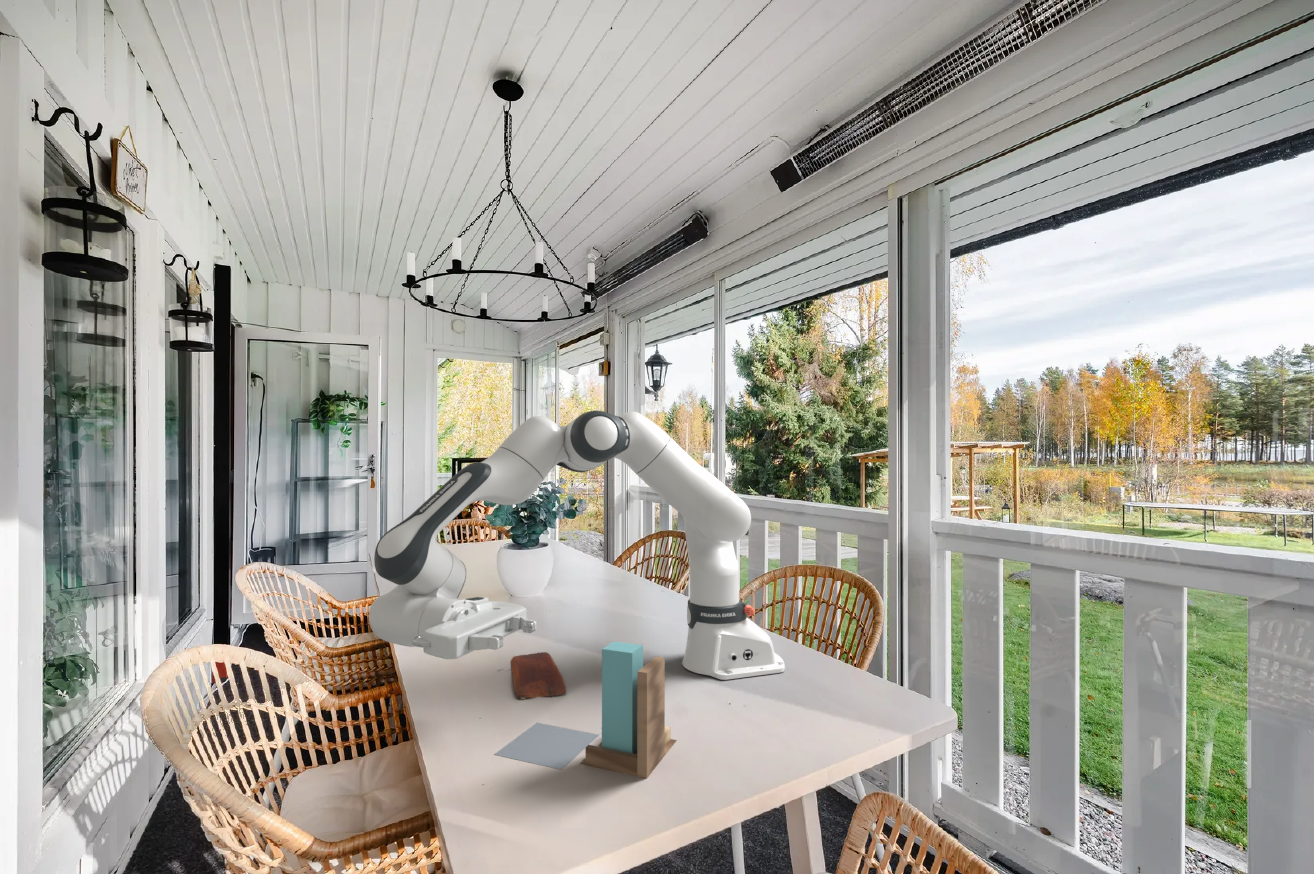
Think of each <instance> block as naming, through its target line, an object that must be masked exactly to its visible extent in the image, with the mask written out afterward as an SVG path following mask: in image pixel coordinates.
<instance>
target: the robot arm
mask: <svg viewBox="0 0 1314 874" xmlns="http://www.w3.org/2000/svg"><path fill="white" fill-rule="evenodd" d="M613 458H614V459H617V460H619V461H621V462H622V463H623V464H626V465H627V467H629V468H630V470H631V471H632V472H633V473H635V475H637V476H638V477H639V478H640V479H641V480H642V481H643V482H644V483H645V484H646V485H647V486H648V487H649V488H650V489H651V490H652V491H654V492H655V494H657V496H659V497H660V498H661V499H662V500H663V501H665V502H666V503H667V504H668V505H669V506H671V507H672V508H673V509H674V510H676V511H677V513H679V514H680V515H681V516H682V518H683V523H684V524H683V525H684V534H685V542H686V549H687V554H688V565H689V568H688V570H689V598H688V600H687V606H686V623H687V626H688V628H687V629H688V632H687V638H686V639H687V641H686V646H685V650H684V655H683V658H682V662H681V665H682V667H684V668H685V669H686V670H688V671H689V672H692V673H696V674H700V675H705V676H710V677H713V678H715V679H718V680H722V681H725V680H733V679H740V678H742V679H743V678H748V677H756V676H763V675H771V674H772V675H773V674H779V673H783V672H784V671H786V665H785V661H784V660H783V658H782V657H781V656H780V655H779V654H778V653H776V652H775V648H774V644H773V641H772V639H771V637H770V635H769V634H768V633H767V632H766V631H765V630H763V628H761V627H760V626H759V625H758V624H756V623H755V622H754V621H752V619H750V618H748V616H749V617H751V616H753V615H754V614H755V608H753V606H751V605H750V604H747V603H746V602H744V601H743V600H740V565H739V561H738V560H737V559H738V558H737V556H736V551H735V546H734V543H733V542H736V541H739V540H741V539H742V538H743V537H744V536H745V535H746V534H747V533H748V531H749V530H750V528H751V524H752V514H751V511H750V510H751V509H750V508H749V506H748V505H747V504H746V502H744V500H743V499H742V498H740V497H739V496H738V495H737V494H736V493H734V491H732V490H731V489H730V488H729V487H728V486H727V485H725V484H724V482H722V481H721V480H720V479H718V478H717V477H716V476H714V474H712V473H711V472H710V471H708V470H707V469H706V468H705V467H703V466H702V464H701V465H700V464H699V462H698V461H696V460H695V459H693V457H692V456H691V455H689V454H688V452H686V451H685V450H684V449H683V447H681V446H680V445H679V444H678V443H677V442H676V441H675V440H674V439H673V438H672V436H670V435H669V434H668V433H666V431H664V429H662V428H661V427H660V426H659V425H657V424H656V423H655V422H653V421H652V420H651V419H649V418H647V416H644V414H641V413H640V412H637V411H627V412H625V413H622V414H621V415H620V416H618V415H615V414H611V413H609V412H607V411H603V410H597V409H596V410H590V411H587V412H583V413H581V414H580V415H578V416H577V417H576V418H574V419H573V420H571V421H570V422H569V423H568V424H567V425H563V426H562V425H559V424H557V423H556V422H555V421H553V420H552V419H550V418H548V417H546V416H541V415H534V416H531V417H529V418H528V419H526V420H525V421H524V422H523V423H522V424H520V425H519V426H518V427H517V428H516V429H514V430H513V431H512V432H511V433H510V434H509V435H508V436H507V438H506V439H505V440H504V441H503V442H502V443H501V444H500V445H499V447H498V448H497V449H496V450H495V451H494V452H493V453H492V454H491V455H490V456H489V457H487V458H485V459H484V460H483V461H479V462H478V461H475V462H472V463H470V464H468V465H466V466H464V467H463V468H461V469H460V470H459V471H458V472H457V473H455V474H454V475H453V476H451V478H450V479H448V480H447V481H446V482H445V483H444V484H443V485H442V486H441V487H440V488H438V489H437V491H436V492H434V493H433V494H432V495H431V496H430V497H428V499H427V500H426V501H424V502H423V503H422V504H421V505H419V507H418V508H417V509H416V510H414V512H412V513H411V514H410V515H409V516H407V518H405V519H403V520H402V521H401V522H399V523H398V524H396V525H394V526H393V527H392V528H390V529H389V530H387V531H386V533H384V535H382V536H381V537H380V539H379V540H378V542H377V544H376V547H375V550H374V558H373V559H374V561H373V562H374V563H373V564H374V569H375V571H376V573H377V574H378V576H380V577H381V578H383V579H385V580H387V581H389V582H390V583H393V584H395V585H397V586H395V587H394V588H393V589H392V590H390V591H389V592H387V593H383V595H382V594H381V595H380V596H378V597H377V598H376V599H375V600H373V602H372V603H371V605H370V608H369V610H368V611H369V612H368V622H369V627H370V628H371V630H372V633H374V635H375V636H376V637H377V638H379V639H380V640H381V641H382V640H383V641H384V642H386V643H387V642H388V643H390V644H395V645H399V646H404V647H409V648H415V647H416V648H423V653H424V654H427V655H429V656H431V657H435V658H440V659H444V660H456V659H460V658H461V657H463V656H466V655H468V654H470V653H472V652H474V651H482V650H483V651H484V650H494V651H496V650H498V649H500V648H502V647H504V638H505V637H506V636H509V635H511V634H513V633H516V632H518V631H520V630H522V632H523V633H528V634H531V633H533V632H536V631H537V629H538V628H537V624H538V623H537V621H536V620H533V619H528V616H527V614H528V612H527V608H526V607H524V606H523V605H521V604H516V603H511V602H505V601H496V600H492V601H491V600H489V597H487V596H476V597H469V598H459V596H460V595H461V593H462V591H463V588H464V586H465V583H466V579H467V569H466V565H465V563H464V562H463V561H462V560H461V559H460V558H459V557H458V556H456V555H455V554H454V553H453V552H451V551H450V550H449V549H448V548H446V547H444V546H443V545H442V544H441V543H439V542H438V541H437V539H436V538H437V536H438V534H439V533H440V532H442V530H443V529H445V528H446V527H447V526H448V525H449V524H450V523H451V522H452V521H453V520H454V519H455V518H456V517H457V516H458V515H459V514H460V513H461V512H462V511H463V510H464V509H465V508H466V507H468V506H469V505H471V504H472V503H475V502H479V501H483V502H484V501H486V502H490V503H494V504H498V505H501V506H502V505H503V506H514V505H519V504H522V503H524V502H525V501H527V500H528V499H529V498H530V497H532V496H533V494H534V493H535V492H536V491H537V489H538V488H539V487H540V485H541V484H542V483H543V481H544V480H545V479H546V477H547V476H548V475H549V474H550V472H551V471H552V470H553V469H554V468H555V467H556V466H558V467H561V468H564V469H566V470H568V471H571V472H575V473H586V472H589V471H592V470H595V469H597V468H599V467H601V466H602V465H604V464H605V463H607V462H608V461H609V460H611V459H613Z"/></svg>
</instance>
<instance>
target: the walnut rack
mask: <svg viewBox="0 0 1314 874" xmlns="http://www.w3.org/2000/svg"><path fill="white" fill-rule="evenodd" d="M665 660H666V658H665V657H661V656H654V657H653V658H652V659H651V660H649V661H648V662H647V663H645V665H643V667H642V668H641V669H640V670H639V671H638V677H637V754H632V753H627V752H622V751H617V750H612V749H608V748H603V747H602V741H601V742H600V743H598V745H593V744H589V745H588V746H587V747H586V748H585V758H583V759H582V760H581V761H580V762H579V765H583V766H588V767H592V768H596V769H601V770H606V771H610V772H611V771H612V772H616V773H619V774H623V775H624V774H625V775H629V776H632V777H633V776H634V777H638V778H642V779H648V778H649V776H650V775H651V774H652V773H653V771H654V770H655V769H656V768H657V766H658V765H659V763H661V761H662V760H663V759H664V758H665V756H666V755H667V753H668V752H669V751H670V750H671V749H672V747H674V745H675V743H676V742H677V741H678V740H677V739H674V738H673V739H672V738H671V740H670V741H669V742H668V743H667V745H666V746H665V726H666V725H665V723H666V721H665V716H666V715H665V711H666V710H665V709H666V708H665V707H666V706H665V704H666V703H665V700H666V698H665V689H666V687H665V686H666V685H665V682H666V678H665V676H666V675H665V674H666V673H665V672H666V671H665V669H666V668H665V666H666V663H665V662H666V661H665Z"/></svg>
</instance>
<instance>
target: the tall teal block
mask: <svg viewBox="0 0 1314 874" xmlns="http://www.w3.org/2000/svg"><path fill="white" fill-rule="evenodd" d="M601 651H602V652H601V742H602V747H603V748H608V749H612V750H617V751H622V752H627V753H632V754H637V677H638V671H639V670H640V669H641V668H642V667H644V645H643V644H636V643H630V642H629V643H627V642H621V641H612V642H610V643H609V644H608V645H605V647H603V648H602V649H601Z"/></svg>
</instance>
